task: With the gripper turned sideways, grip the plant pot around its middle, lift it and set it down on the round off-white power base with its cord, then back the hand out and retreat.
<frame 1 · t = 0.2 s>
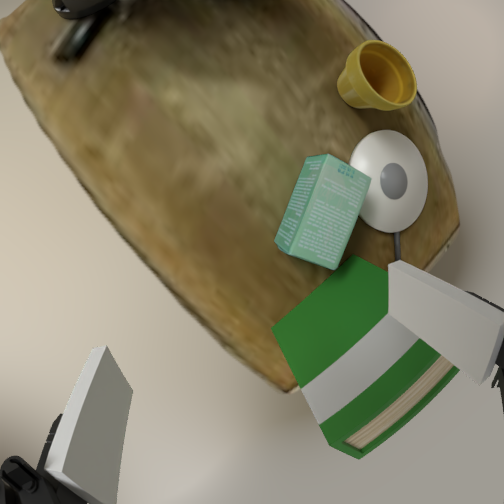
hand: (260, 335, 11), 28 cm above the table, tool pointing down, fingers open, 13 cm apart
box: (310, 208, 39), on the table
hardback book: (324, 305, 44), on the table
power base: (389, 180, 40), on the table
plant pot: (353, 89, 36), on the table
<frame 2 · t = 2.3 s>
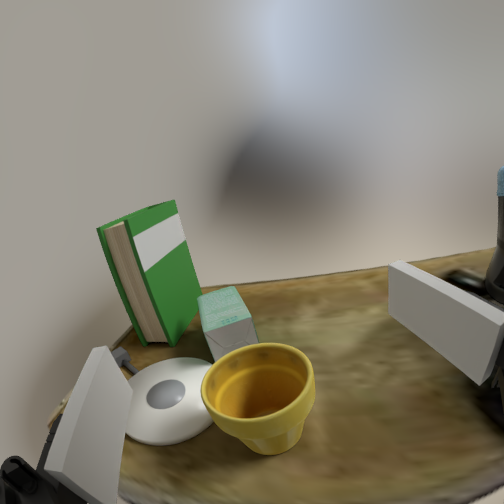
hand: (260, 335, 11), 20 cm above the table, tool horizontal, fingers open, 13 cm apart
box: (232, 342, 46), on the table
hardback book: (176, 322, 56), on the table
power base: (169, 399, 34), on the table
plant pot: (273, 433, 26), on the table
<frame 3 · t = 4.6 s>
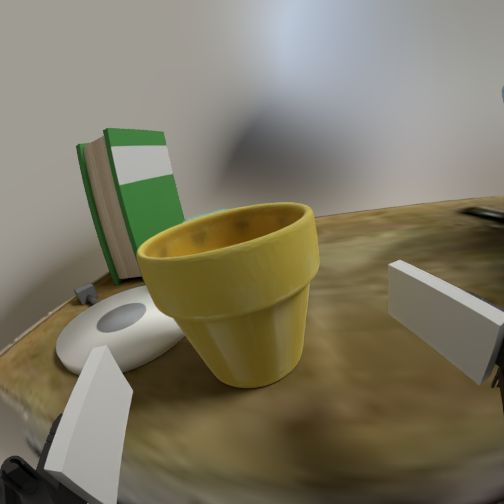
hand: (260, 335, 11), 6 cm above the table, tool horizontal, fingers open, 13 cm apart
hardback book: (156, 263, 49), on the table
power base: (125, 326, 27), on the table
plant pot: (257, 359, 19), on the table
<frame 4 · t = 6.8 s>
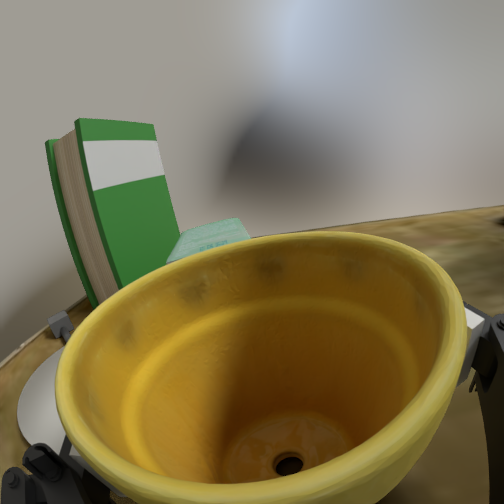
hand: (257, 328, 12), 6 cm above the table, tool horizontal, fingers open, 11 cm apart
box: (227, 299, 30), on the table
hardback book: (145, 284, 40), on the table
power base: (100, 386, 18), on the table
plant pot: (292, 471, 10), on the table, touching gripper
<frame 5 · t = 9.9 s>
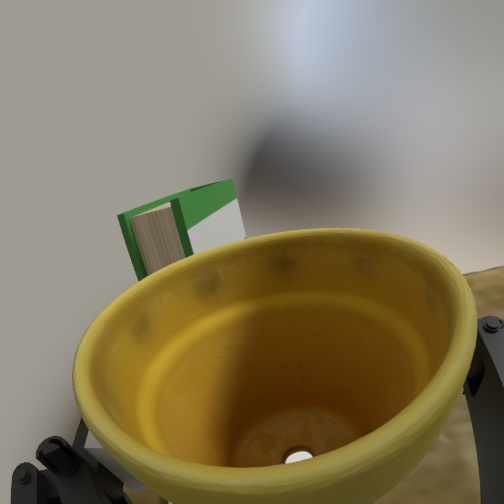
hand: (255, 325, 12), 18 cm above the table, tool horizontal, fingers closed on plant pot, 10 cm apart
hardback book: (232, 354, 39), on the table
plant pot: (301, 466, 10), point 12 cm above the table, touching gripper
when the fingers open (9 cm above the table, at t = 12.6 s): plant pot moves 2 cm, resting on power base.
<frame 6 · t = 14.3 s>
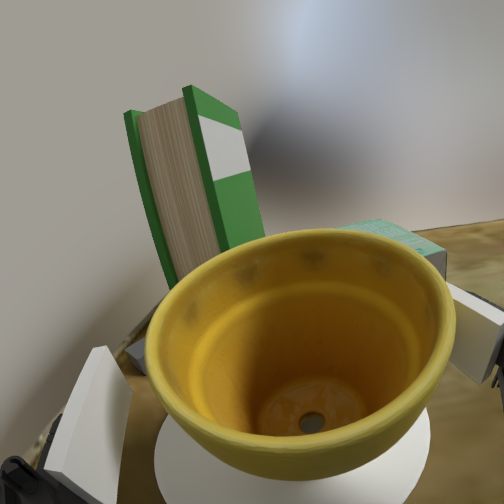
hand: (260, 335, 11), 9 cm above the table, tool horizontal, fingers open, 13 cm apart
box: (380, 305, 26), on the table
hardback book: (236, 295, 36), on the table
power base: (289, 439, 14), on the table
plant pot: (314, 429, 13), point 2 cm above the table, touching gripper, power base
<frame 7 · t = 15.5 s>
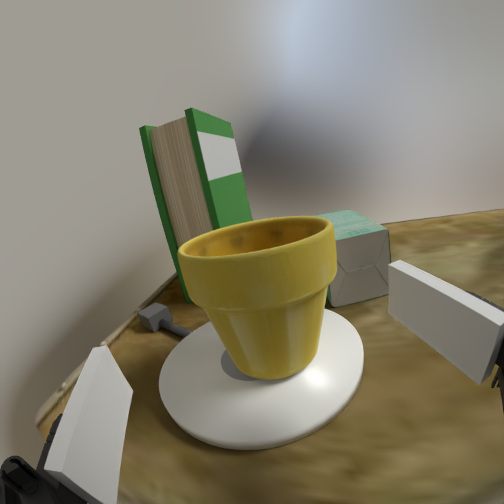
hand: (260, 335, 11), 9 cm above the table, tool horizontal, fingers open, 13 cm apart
box: (346, 278, 34), on the table
hardback book: (229, 275, 44), on the table
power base: (259, 365, 22), on the table
plant pot: (276, 355, 21), point 1 cm above the table, touching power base
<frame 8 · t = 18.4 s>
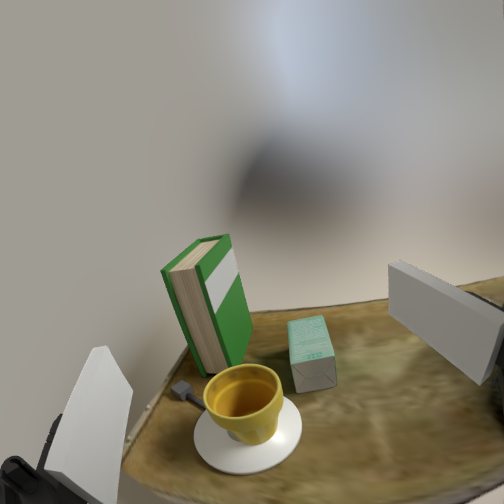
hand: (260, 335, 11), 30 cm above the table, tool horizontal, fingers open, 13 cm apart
box: (312, 366, 48), on the table
hardback book: (230, 351, 59), on the table
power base: (247, 431, 36), on the table
plant pot: (256, 429, 35), point 1 cm above the table, touching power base
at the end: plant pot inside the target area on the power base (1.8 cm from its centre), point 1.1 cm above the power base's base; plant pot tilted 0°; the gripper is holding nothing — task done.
